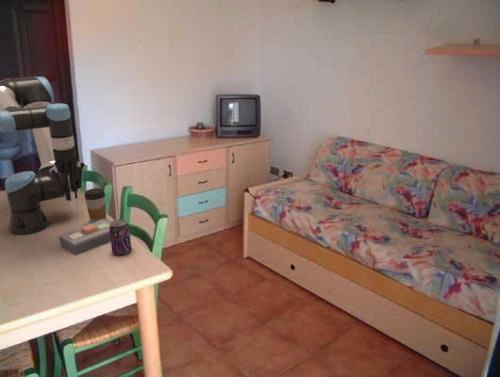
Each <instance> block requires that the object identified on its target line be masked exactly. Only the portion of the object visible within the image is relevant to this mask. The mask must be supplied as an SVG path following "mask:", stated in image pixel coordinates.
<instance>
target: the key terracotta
mask: <svg viewBox="0 0 500 377" xmlns="http://www.w3.org/2000/svg"><path fill="white" fill-rule="evenodd" d="M89 224H90V225H89ZM89 224H87V226H86V225H83V226H84V227H83V226H80V227H81V230H82V233H84V234H86V235H88V234H91V233H94V232H97V231H98V229H97V227H96V226H94V225H93V224H91V223H89Z"/></svg>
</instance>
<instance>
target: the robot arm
mask: <svg viewBox="0 0 500 377" xmlns="http://www.w3.org/2000/svg"><path fill="white" fill-rule="evenodd" d="M54 102H55V95H54V91H53V88H52V86H51V84H50V82H49V80H48V79H47V78H46V77H45V76H35V75H34V76H28V77H27V76H26V77H12V78H11V77H10V78H4V79H1V80H0V132H1V133H14V132H19V131H20V132H21V131H29V130H31V131H32V134H33V138H34V141H35V142H34V143H35V144H36V150H37V153H38V157H39V160H40V167H39V169H38V173H37V174H36V173H35V172H34V171H32V170H30V171H29V170H28V171H26V170H25V171H20V172H17V173H14V174H12V175H10V176H9V177H7V178H6V179H5V181H4V188H5V193H6V196H7V202H8V207H9V211H10V215H9V216H10V217H9V220H8V221H9V222H8V229H9V232H10V233H11V234H13V235H28V234H29V235H30V234H34V233H38V232H40V231H43V230H45V229H46V228H47V227H49V224H50V222H49V219H48V217H47V215H46V214H45V212H44V210H43V208H42V204H41V202H46V201H51V200H55V199H59V198H65V200H66V201H68V205H69V208H71V209H72V210H74V209H77V201H76V199H78V190H79V189H81V188H82V181H83V170H84V167H85V163H84V162H82V161H79V159H78V158H77V152H76V148H75V139H74V134H73V133H74V132H73V125H72V118H71V111H70V107H69V105H68V104H66V103H54ZM21 107H22V108H21ZM75 170H76V171H75Z"/></svg>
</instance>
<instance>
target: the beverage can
mask: <svg viewBox="0 0 500 377" xmlns="http://www.w3.org/2000/svg"><path fill="white" fill-rule="evenodd" d="M130 230H131V229H130V225H129V223H128V221H127V220H126V219H120V218H119V219H115V220H112V221H110V227H109V232H110V239H111V242H110V244H111V245H110V246H111V252H112V254H114V255H118V256H123V255H126V254H128V253H130V252H131V251H132V240H131V239H132V238H131V232H130Z"/></svg>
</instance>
